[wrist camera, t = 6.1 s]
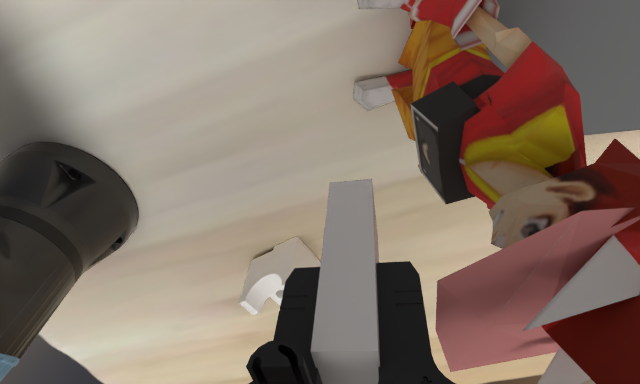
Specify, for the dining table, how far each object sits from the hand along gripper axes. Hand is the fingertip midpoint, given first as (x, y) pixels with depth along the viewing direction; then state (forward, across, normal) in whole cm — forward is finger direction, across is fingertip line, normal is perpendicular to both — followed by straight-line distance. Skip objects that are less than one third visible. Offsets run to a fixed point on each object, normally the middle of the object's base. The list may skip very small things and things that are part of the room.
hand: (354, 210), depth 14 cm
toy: (+22, +2, 0) cm, 23 cm away
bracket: (+23, -10, -29) cm, 38 cm away
